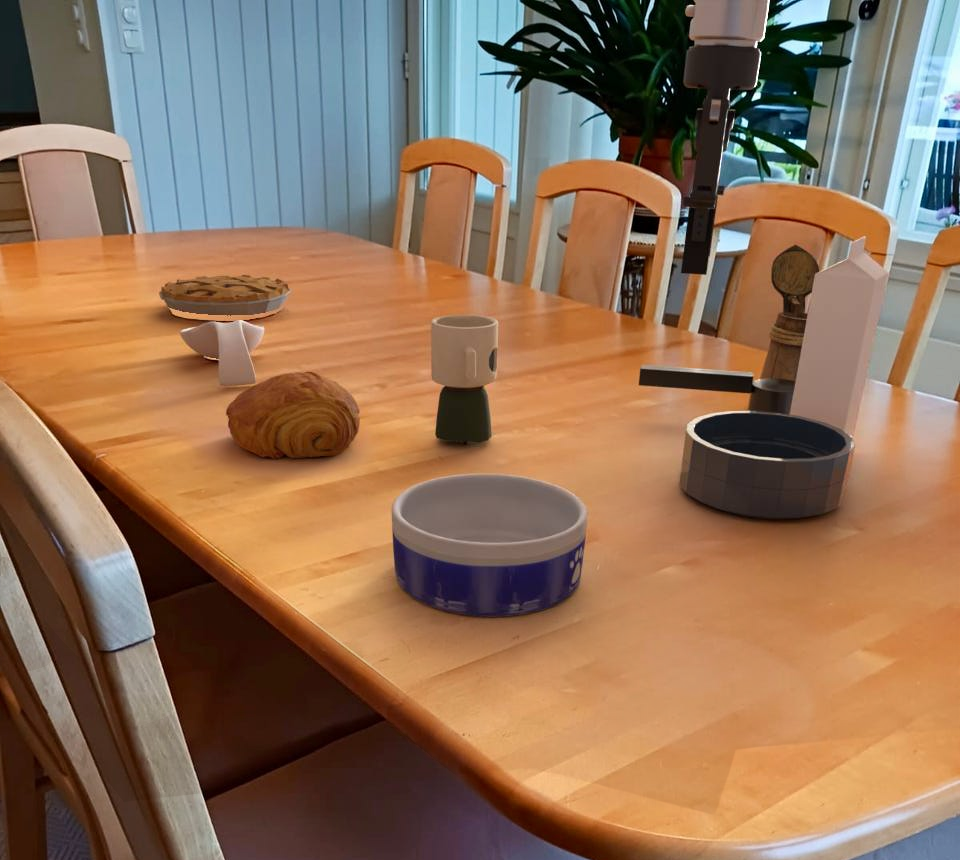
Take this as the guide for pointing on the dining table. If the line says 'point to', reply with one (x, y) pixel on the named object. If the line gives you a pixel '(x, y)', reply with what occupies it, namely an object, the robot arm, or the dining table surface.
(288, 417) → the croissant
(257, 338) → the spoon rest
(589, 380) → the dining table surface
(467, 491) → the dog bowl
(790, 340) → the brown wooden tall piece
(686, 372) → the ladle
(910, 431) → the dining table surface
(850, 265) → the milk
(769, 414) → the serving bowl
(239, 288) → the pie
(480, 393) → the character mug
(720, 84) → the robot arm
